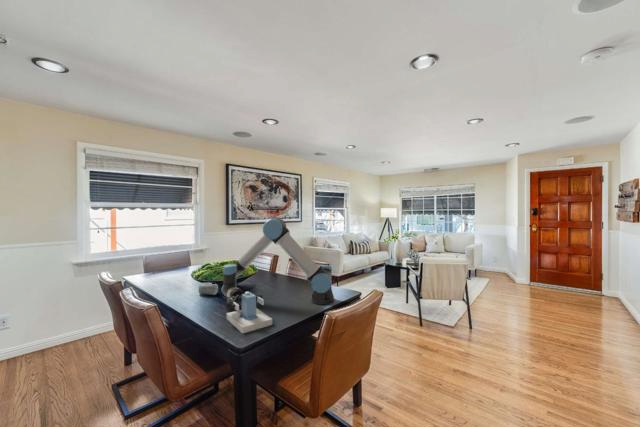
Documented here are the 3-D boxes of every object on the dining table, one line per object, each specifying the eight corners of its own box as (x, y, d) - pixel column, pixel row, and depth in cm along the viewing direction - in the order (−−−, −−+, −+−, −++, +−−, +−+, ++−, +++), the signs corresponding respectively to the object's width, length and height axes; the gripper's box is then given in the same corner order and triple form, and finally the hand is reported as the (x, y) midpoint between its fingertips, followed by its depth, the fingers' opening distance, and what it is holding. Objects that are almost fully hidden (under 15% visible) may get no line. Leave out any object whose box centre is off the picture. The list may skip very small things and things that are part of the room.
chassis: (272, 324, 138) (272, 318, 138) (242, 333, 128) (242, 327, 128) (254, 311, 156) (254, 306, 155) (226, 318, 146) (226, 313, 146)
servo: (257, 323, 139) (257, 295, 139) (246, 326, 136) (246, 297, 135) (249, 317, 148) (249, 289, 148) (238, 319, 144) (238, 292, 144)
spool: (193, 291, 183) (200, 277, 187) (201, 293, 192) (208, 280, 195) (208, 298, 179) (215, 284, 182) (216, 300, 187) (223, 286, 191)
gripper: (256, 297, 164) (272, 307, 147) (213, 306, 149) (227, 318, 132) (256, 284, 164) (272, 293, 147) (213, 292, 148) (227, 303, 132)
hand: (251, 305), depth 139 cm, fingers open, 13 cm apart
